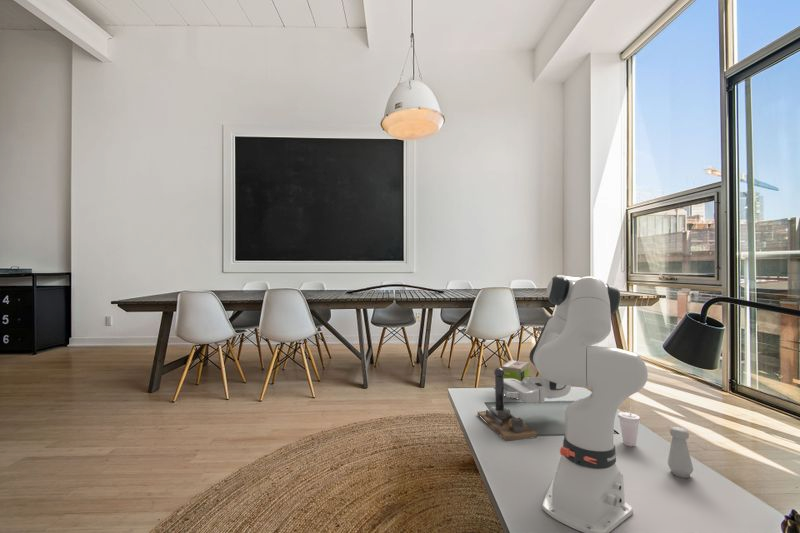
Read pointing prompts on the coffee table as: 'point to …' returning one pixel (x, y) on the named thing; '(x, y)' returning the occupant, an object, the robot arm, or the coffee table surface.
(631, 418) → the smoothie
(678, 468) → the salt shaker
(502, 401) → the handle slide
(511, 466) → the coffee table surface
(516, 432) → the base
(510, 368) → the tea box
